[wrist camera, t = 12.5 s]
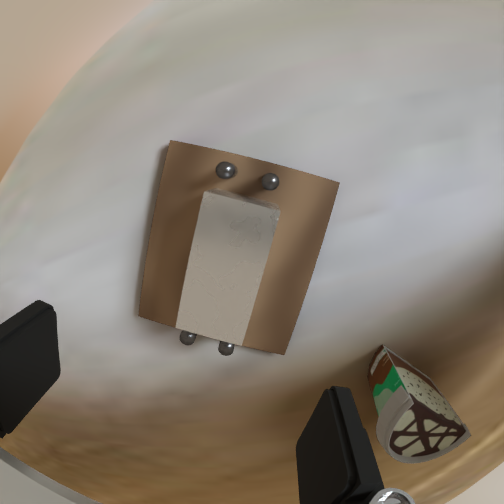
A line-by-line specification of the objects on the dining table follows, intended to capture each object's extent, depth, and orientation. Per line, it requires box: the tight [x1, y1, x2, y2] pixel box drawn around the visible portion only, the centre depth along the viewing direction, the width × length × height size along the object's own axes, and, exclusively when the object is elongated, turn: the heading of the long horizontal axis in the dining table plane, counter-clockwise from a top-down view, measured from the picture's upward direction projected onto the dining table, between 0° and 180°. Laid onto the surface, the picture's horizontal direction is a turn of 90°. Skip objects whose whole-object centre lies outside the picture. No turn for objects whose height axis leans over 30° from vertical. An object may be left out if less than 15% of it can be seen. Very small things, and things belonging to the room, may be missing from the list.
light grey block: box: [176, 188, 281, 346], centre depth 23 cm, size 5×10×5 cm, turn 165°
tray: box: [139, 140, 339, 355], centre depth 26 cm, size 14×16×1 cm
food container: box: [368, 344, 471, 463], centre depth 25 cm, size 12×6×10 cm, turn 54°
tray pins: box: [180, 161, 279, 356], centre depth 24 cm, size 4×14×4 cm, turn 166°
